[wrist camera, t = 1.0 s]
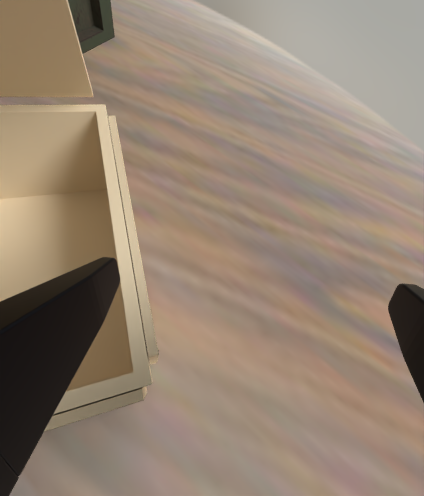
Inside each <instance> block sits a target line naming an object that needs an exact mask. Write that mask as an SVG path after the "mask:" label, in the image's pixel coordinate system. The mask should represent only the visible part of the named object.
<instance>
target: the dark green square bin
mask: <svg viewBox="0 0 424 496" xmlns="http://www.w3.org/2000/svg"><path fill="white" fill-rule="evenodd" d="M68 3H69V7H70V10H71V14H72V18H73V21H74V25H75V29H76V32H77V36H78V40H79V43H80V47H81V51H82V54H83V53H85V52H87V51H89V50H91V49H93V48H94V47H96V46H98V45H100V44H102V43H104V42H106V41H108V40H110V39H112V38H113V37H114V28H113V20H112V11H111V2H110V0H68Z"/></svg>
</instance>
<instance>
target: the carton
mask: <svg viewBox="0 0 424 496" xmlns="http://www.w3.org/2000/svg"><path fill="white" fill-rule="evenodd" d="M108 118H109V122H108ZM109 124H110V128H109ZM110 130H111V134H110ZM111 136H112V140H111ZM112 142H113V145H112ZM113 147H114V151H113ZM114 153H115V157H114ZM115 159H116V162H115ZM116 165H117V168H116ZM117 171H118V174H117ZM118 177H119V180H118ZM119 183H120V185H119ZM120 189H121V191H120ZM121 195H122V197H121ZM122 201H123V203H122ZM123 207H124V209H123ZM124 213H125V215H124ZM125 219H126V221H125ZM126 225H127V227H126ZM127 231H128V233H127ZM128 237H129V239H128ZM129 242H130V245H129ZM130 248H131V251H130ZM131 254H132V257H131ZM102 257H111V258H115V259H116V260H117V264H118V269H119V274H120V284H119V287H118V289H117V292H116V294H115V296H114V299H113V301H112V304H111V306H110V309H109V311H108V313H107V316H106V318H105V320H104V323H103V324H102V326H101V328H100V330H99V332H98V334H97V336H96V337H95V339H94V341H93V343H92V345H91V347H90V348H89V350H88V352H87V354H86V356H85V357H84V359H83V361H82V363H81V365H80V367H79V368H78V370H77V372H76V374H75V376H74V378H73V379H72V381H71V383H70V385H69V387H68V388H67V390H66V392H65V394H64V396H63V398H62V399H61V401H60V403H59V405H58V407H57V409H56V410H55V412H54V414H53V416H52V418H51V419H50V421H49V423H48V425H47V427H46V429H45V430H44V432H45V431H48V430H52V429H55V428H58V427H61V426H64V425H67V424H70V423H74V422H77V421H80V420H83V419H86V418H89V417H92V416H95V415H99V414H102V413H105V412H108V411H111V410H114V409H117V408H121V407H124V406H127V405H130V404H133V403H136V402H139V401H142V400H144V398H145V396H146V394H147V387H146V386H148V385H151V384H152V383H153V382H152V376H151V370H150V365H151V364H154V363H157V360H158V355H159V353H158V348H157V342H156V337H155V331H154V326H153V320H152V315H151V309H150V304H149V298H148V293H147V287H146V282H145V277H144V271H143V266H142V260H141V255H140V249H139V244H138V238H137V233H136V227H135V222H134V216H133V211H132V205H131V200H130V194H129V189H128V184H127V178H126V173H125V167H124V162H123V156H122V151H121V145H120V140H119V134H118V129H117V123H116V118H115V116H108V117H107V111H106V105H0V301H2V300H5V299H7V298H9V297H12V296H14V295H16V294H19V293H21V292H23V291H26V290H28V289H30V288H32V287H35V286H37V285H39V284H42V283H44V282H46V281H49V280H51V279H53V278H56V277H58V276H60V275H62V274H65V273H67V272H69V271H72V270H74V269H76V268H79V267H81V266H83V265H85V264H88V263H90V262H92V261H95V260H97V259H99V258H102ZM132 260H133V263H132ZM133 266H134V269H133ZM134 272H135V275H134ZM135 278H136V281H135ZM136 284H137V287H136ZM137 290H138V293H137ZM138 296H139V299H138ZM139 302H140V305H139ZM140 308H141V311H140ZM141 314H142V317H141ZM142 320H143V323H142ZM143 326H144V329H143ZM144 332H145V334H144ZM145 338H146V340H145ZM146 343H147V346H146ZM147 349H148V352H147ZM148 355H149V358H148ZM149 361H150V364H149Z"/></svg>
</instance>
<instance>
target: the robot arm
mask: <svg viewBox="0 0 424 496" xmlns="http://www.w3.org/2000/svg"><path fill="white" fill-rule="evenodd" d="M119 284H120V274H119V269H118V264H117V260H116V259H115V258H111V257H102V258H99V259H97V260H95V261H92V262H90V263H88V264H85V265H83V266H81V267H79V268H76V269H74V270H72V271H69V272H67V273H65V274H62V275H60V276H58V277H56V278H53V279H51V280H49V281H46V282H44V283H42V284H39V285H37V286H35V287H32V288H30V289H28V290H26V291H23V292H21V293H19V294H16V295H14V296H12V297H9V298H7V299H5V300H2V301H0V496H9V495H10V493H11V491H12V489H13V487H14V486H15V484H16V482H17V480H18V478H19V477H18V476H19V475H20V474H21V472H22V471H23V469H24V467H25V465H26V463H27V461H28V460H29V458H30V456H31V454H32V452H33V450H34V449H35V447H36V445H37V443H38V441H39V440H40V438H41V436H42V434H43V432H44V430H45V429H46V427H47V425H48V423H49V421H50V419H51V418H52V416H53V414H54V412H55V410H56V409H57V407H58V405H59V403H60V401H61V399H62V398H63V396H64V394H65V392H66V390H67V388H68V387H69V385H70V383H71V381H72V379H73V378H74V376H75V374H76V372H77V370H78V368H79V367H80V365H81V363H82V361H83V359H84V357H85V356H86V354H87V352H88V350H89V348H90V347H91V345H92V343H93V341H94V339H95V337H96V336H97V334H98V332H99V330H100V328H101V326H102V324H103V323H104V320H105V318H106V316H107V313H108V311H109V309H110V306H111V304H112V301H113V299H114V296H115V294H116V292H117V289H118V287H119ZM388 310H389V314H390V317H391V320H392V324H393V327H394V330H395V333H396V336H397V339H398V342H399V345H400V349H401V351H402V354H403V357H404V359H405V362H406V364H407V367H408V369H409V371H410V373H411V375H412V378H413V380H414V382H415V384H416V387H417V389H418V391H419V393H420V396H421V398H422V400H423V402H424V289H423V288H421V287H419V286H417V285H414V284H399V285H398V286H397V288H396V290H395V292H394V294H393V296H392V298H391V300H390V302H389V306H388Z"/></svg>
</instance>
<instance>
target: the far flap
mask: <svg viewBox="0 0 424 496" xmlns="http://www.w3.org/2000/svg"><path fill="white" fill-rule="evenodd" d="M0 97H93V92H92V87H91V84H90V80H89V76H88V73H87V69H86V65H85V62H84V58H83V54H82V51H81V47H80V43H79V40H78V36H77V32H76V29H75V25H74V21H73V18H72V14H71V10H70V7H69V3H68V0H0Z"/></svg>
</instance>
